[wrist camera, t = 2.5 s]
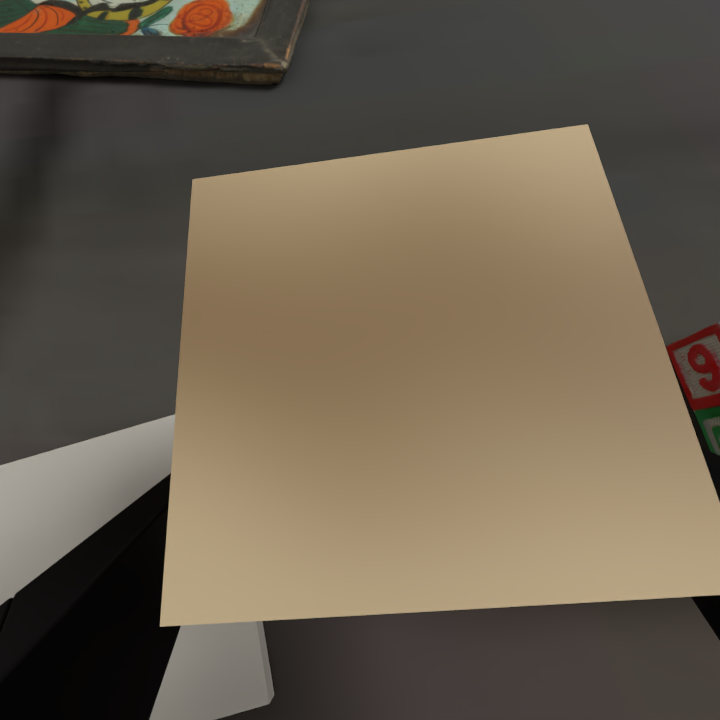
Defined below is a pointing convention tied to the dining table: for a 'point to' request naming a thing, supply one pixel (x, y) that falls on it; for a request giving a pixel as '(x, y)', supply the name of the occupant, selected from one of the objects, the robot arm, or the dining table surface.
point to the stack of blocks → (701, 378)
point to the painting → (152, 38)
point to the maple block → (426, 394)
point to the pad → (89, 513)
